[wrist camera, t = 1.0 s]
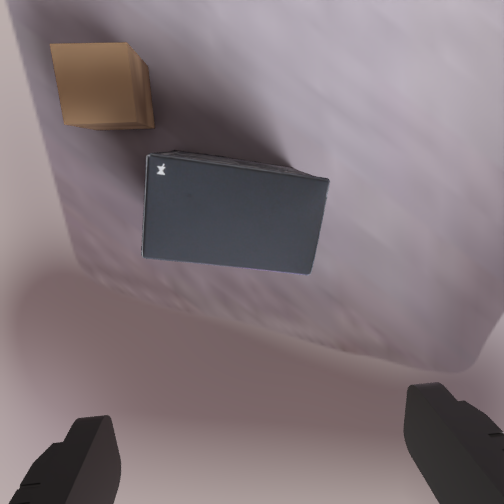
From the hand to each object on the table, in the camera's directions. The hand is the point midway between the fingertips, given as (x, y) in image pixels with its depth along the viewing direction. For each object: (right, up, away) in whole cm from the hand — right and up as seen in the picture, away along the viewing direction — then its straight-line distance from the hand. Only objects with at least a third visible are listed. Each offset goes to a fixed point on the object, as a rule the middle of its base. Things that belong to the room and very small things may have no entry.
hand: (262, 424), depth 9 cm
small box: (-2, +10, +20) cm, 23 cm away
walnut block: (-10, +17, +18) cm, 26 cm away
